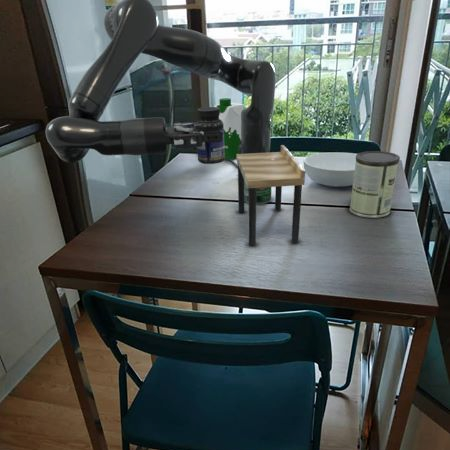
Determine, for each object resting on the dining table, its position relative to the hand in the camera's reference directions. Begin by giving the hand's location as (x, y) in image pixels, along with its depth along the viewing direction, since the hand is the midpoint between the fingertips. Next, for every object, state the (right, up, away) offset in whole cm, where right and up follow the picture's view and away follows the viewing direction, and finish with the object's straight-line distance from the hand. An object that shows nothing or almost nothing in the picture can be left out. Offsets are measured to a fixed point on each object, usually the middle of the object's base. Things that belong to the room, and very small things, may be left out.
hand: (220, 132), depth 96 cm
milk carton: (+3, +17, +69) cm, 71 cm away
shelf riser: (+11, -18, +12) cm, 25 cm away
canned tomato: (+10, -8, +28) cm, 31 cm away
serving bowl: (+35, -1, +39) cm, 52 cm away
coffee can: (+39, -14, +19) cm, 45 cm away
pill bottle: (-2, -5, +3) cm, 7 cm away
